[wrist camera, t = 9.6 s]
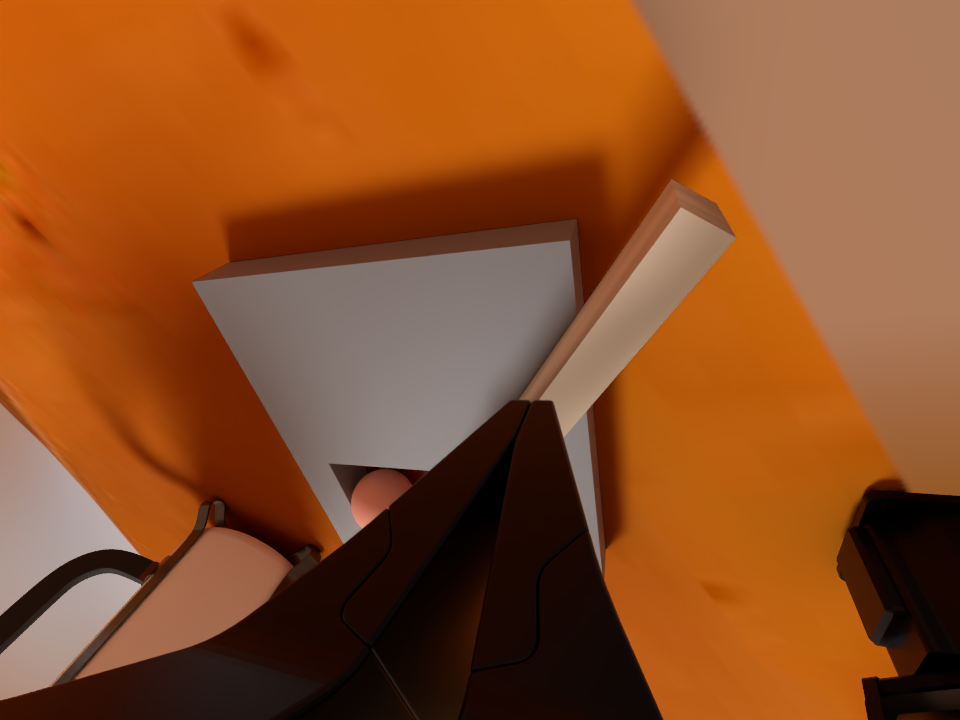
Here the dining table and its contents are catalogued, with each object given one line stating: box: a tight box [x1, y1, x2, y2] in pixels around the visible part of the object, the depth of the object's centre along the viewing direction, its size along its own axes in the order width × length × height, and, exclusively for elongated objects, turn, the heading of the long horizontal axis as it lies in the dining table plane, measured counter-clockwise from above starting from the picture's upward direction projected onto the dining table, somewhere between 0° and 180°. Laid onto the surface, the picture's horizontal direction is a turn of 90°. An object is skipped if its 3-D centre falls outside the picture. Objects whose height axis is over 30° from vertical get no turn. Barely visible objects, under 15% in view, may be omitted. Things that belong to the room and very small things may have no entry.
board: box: [192, 219, 606, 578], centre depth 24 cm, size 18×21×2 cm
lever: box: [519, 179, 736, 438], centre depth 19 cm, size 2×24×4 cm, turn 156°
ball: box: [351, 469, 412, 528], centre depth 28 cm, size 4×4×4 cm
